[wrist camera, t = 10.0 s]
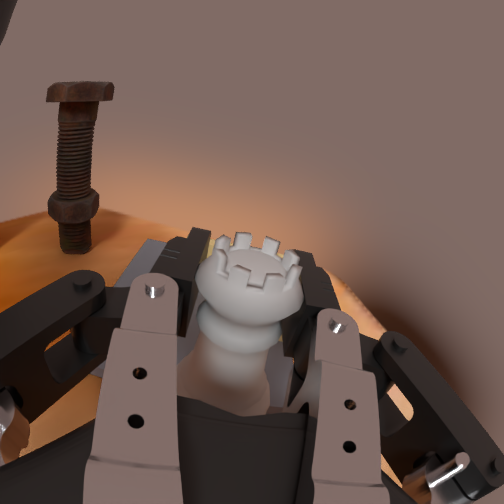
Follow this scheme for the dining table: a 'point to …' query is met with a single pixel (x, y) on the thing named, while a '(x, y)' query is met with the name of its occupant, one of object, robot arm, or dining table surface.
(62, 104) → the bolt
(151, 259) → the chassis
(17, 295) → the dining table surface
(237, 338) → the rook chess piece
